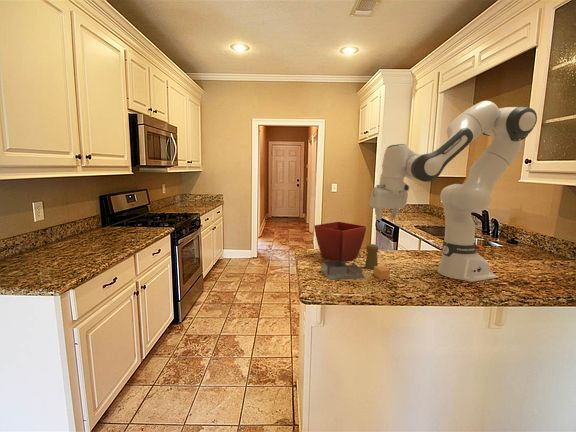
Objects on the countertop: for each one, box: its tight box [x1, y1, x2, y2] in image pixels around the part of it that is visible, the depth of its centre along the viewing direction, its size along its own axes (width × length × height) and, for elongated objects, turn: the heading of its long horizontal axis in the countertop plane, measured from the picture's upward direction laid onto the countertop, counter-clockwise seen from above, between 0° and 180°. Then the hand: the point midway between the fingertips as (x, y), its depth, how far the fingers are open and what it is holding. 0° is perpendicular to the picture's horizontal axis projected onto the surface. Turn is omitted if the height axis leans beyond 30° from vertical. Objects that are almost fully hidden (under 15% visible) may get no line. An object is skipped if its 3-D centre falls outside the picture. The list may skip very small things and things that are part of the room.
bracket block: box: [373, 265, 391, 280], centre depth 125 cm, size 4×6×4 cm, turn 9°
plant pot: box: [314, 221, 367, 263], centre depth 151 cm, size 19×19×17 cm
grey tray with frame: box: [320, 260, 365, 281], centre depth 129 cm, size 15×13×4 cm
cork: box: [364, 243, 379, 271], centre depth 137 cm, size 6×6×11 cm
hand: (385, 219), depth 121 cm, fingers open, 8 cm apart
